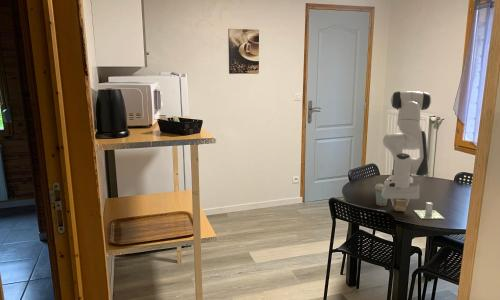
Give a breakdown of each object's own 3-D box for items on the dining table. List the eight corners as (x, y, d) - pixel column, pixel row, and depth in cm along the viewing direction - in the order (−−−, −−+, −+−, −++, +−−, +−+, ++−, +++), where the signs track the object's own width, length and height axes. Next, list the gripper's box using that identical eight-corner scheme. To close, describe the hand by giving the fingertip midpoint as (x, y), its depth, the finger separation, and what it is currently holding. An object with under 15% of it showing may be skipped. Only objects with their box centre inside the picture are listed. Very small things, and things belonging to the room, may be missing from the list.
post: (413, 211, 215) (414, 199, 213) (435, 211, 214) (436, 199, 212) (421, 219, 203) (422, 206, 201) (444, 219, 202) (445, 206, 201)
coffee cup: (390, 206, 222) (391, 187, 219) (375, 206, 223) (376, 186, 221) (387, 202, 230) (388, 183, 227) (373, 201, 231) (374, 182, 229)
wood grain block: (393, 207, 217) (394, 196, 216) (402, 207, 217) (403, 196, 215) (396, 211, 212) (396, 199, 211) (405, 211, 212) (406, 200, 210)
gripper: (418, 181, 213) (416, 204, 216) (381, 180, 215) (380, 203, 218) (422, 184, 207) (420, 208, 210) (384, 184, 209) (382, 207, 212)
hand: (399, 205), depth 214 cm, fingers closed on wood grain block, 5 cm apart
